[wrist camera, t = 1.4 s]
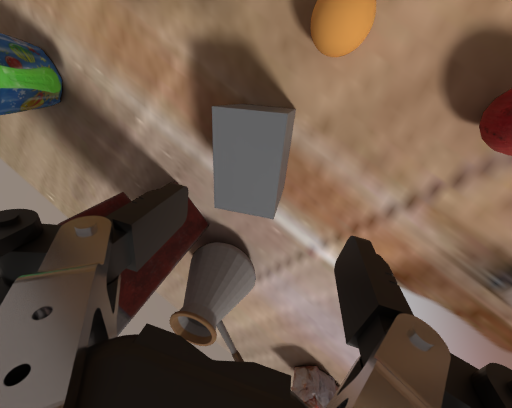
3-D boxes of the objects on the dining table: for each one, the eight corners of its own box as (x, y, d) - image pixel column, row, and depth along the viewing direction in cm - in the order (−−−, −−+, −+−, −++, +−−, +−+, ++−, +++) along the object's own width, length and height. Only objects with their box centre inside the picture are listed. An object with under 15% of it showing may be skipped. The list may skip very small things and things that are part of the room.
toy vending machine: (166, 167, 31) (-355, 415, 7) (209, 225, 34) (-45, 536, 10) (133, 191, 35) (-274, 403, 11) (175, 241, 38) (-69, 493, 14)
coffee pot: (188, 252, 38) (124, 330, 25) (227, 222, 33) (171, 303, 20) (262, 321, 42) (239, 419, 29) (308, 305, 37) (305, 417, 24)
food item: (287, 363, 47) (282, 421, 39) (316, 357, 44) (316, 420, 35) (324, 395, 50) (326, 456, 41) (354, 392, 46) (363, 459, 37)
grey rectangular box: (295, 109, 23) (287, 113, 16) (283, 188, 28) (273, 219, 21) (241, 103, 24) (211, 106, 17) (239, 180, 29) (214, 207, 22)
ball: (376, -8, 17) (396, -43, 13) (358, 62, 20) (370, 52, 16) (316, -8, 18) (318, -40, 14) (306, 59, 21) (304, 49, 16)
